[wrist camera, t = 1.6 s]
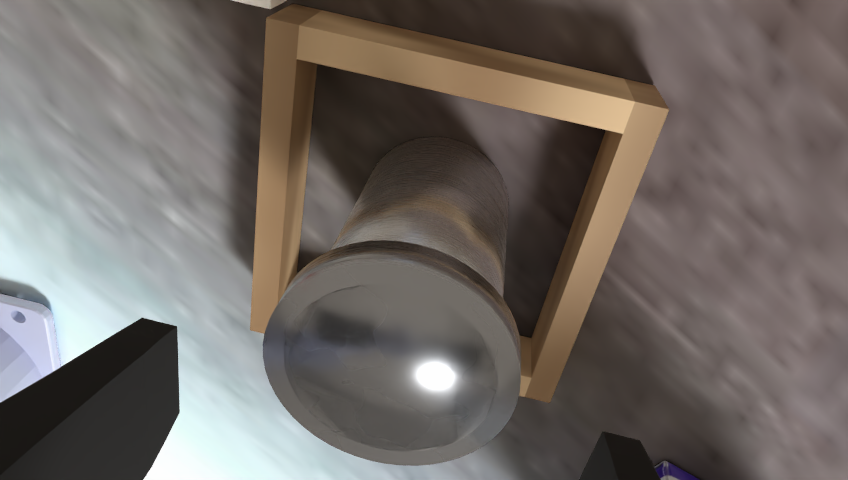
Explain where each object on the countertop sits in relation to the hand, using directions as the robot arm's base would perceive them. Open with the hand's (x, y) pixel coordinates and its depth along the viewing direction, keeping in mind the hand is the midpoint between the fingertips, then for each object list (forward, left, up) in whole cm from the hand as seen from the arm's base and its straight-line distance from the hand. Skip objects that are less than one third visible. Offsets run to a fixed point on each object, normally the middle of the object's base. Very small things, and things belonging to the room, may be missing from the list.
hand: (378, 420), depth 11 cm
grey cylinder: (0, 0, -8) cm, 8 cm away
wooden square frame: (0, 0, -8) cm, 8 cm away
